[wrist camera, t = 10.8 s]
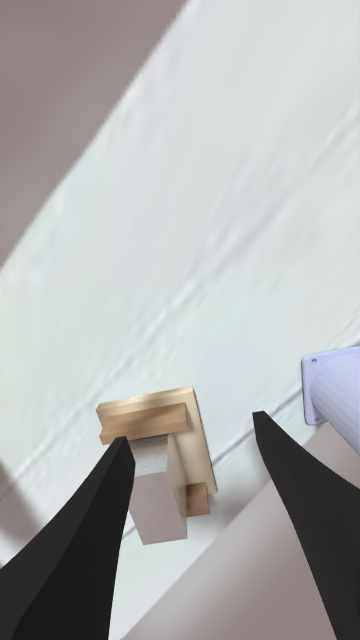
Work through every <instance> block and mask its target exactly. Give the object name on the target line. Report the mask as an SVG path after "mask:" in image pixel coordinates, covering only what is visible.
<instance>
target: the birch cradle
mask: <svg viewBox="0 0 360 640" xmlns="http://www.w3.org/2000/svg"><path fill="white" fill-rule="evenodd" d="M96 412H97V415H98V417H99V420H100V422H101V425H102V427H103V429H102V432H101V434H100V436H99V437H100V439H101V442H102V444H103V445H106V444H109V445H111V443H112V442H113V441H114V439H115V438H116V437H122V436H126V437H127V440H134V439H139V438H145V437H150V436H156V435H162V434H167V433H174V437H175V440H176V444H177V447H178V451H179V454H180V458H181V461H182V465H183V468H184V472H185V476H186V506H187V517H191V516H197V515H203V514H210V511H209V503H208V494H214V493H217V491H216V485H215V481H214V476H213V472H212V468H211V463H210V459H209V455H208V451H207V446H206V442H205V438H204V433H203V429H202V425H201V421H200V416H199V412H198V408H197V403H196V399H195V395H194V391H193V386H189V387H184V388H178V389H173V390H168V391H163V392H158V393H152V394H147V395H142V396H137V397H132V398H126V399H121V400H116V401H111V402H106V403H100V404H99V405H98V407H97V409H96Z"/></svg>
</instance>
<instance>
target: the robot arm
mask: <svg viewBox="0 0 360 640" xmlns="http://www.w3.org/2000/svg"><path fill="white" fill-rule="evenodd" d="M313 359H314V361H313V362H312V360H313ZM302 374H303V390H304V406H305V420H306V422H307V423H308V424H318V423H323V422H329V423H330V424H331V425H332V426H333V427H334V428H335V429H336V430H337V432H338V433H339V434H340V435H341V436H342V437H343V438H344V439H345V440H346V441H347V443H348V444H349V445H350V446H351V447H352V448H353V449H354V450H355V451H356V452H357V453H358V455H359V456H360V346H356V347H351V348H346V349H341V350H336V351H331V352H326V353H320V354H315V355H310V356H306V357H304V358H303V359H302ZM252 414H253V421H254V428H255V435H256V441H257V444H258V447H259V450H260V453H261V456H262V458H263V461H264V463H265V465H266V468H267V470H268V472H269V474H270V476H271V478H272V480H273V482H274V484H275V486H276V489H277V490H278V493H279V495H280V497H281V499H282V501H283V503H284V505H285V507H286V509H287V511H288V514H289V516H290V518H291V521H292V523H293V525H294V528H295V530H296V533H297V535H298V538H299V540H300V543H301V546H302V548H303V551H304V553H305V556H306V559H307V561H308V564H309V566H310V569H311V572H312V574H313V577H314V579H315V582H316V585H317V587H318V590H319V593H320V595H321V598H322V601H323V603H324V606H325V609H326V611H327V614H328V617H329V619H330V622H331V625H332V627H333V630H334V633H335V636H336V639H337V640H360V489H359V488H357V487H355V486H354V485H353V484H351V483H349V482H348V481H347V480H345V479H344V478H342V477H340V476H339V475H338V474H336V473H335V472H333V471H332V470H331V469H329V468H328V467H327V466H325V465H324V464H323V463H321V462H320V461H319V460H317V459H316V458H315V457H314V456H312V455H311V454H310V453H309V452H307V451H306V450H305V449H304V448H303V447H302V446H300V445H299V444H298V443H297V442H296V441H295V440H294V439H292V438H291V437H290V436H289V435H288V434H287V433H286V432H285V431H284V430H283V429H282V428H281V427H280V426H279V425H277V424H276V423H275V422H274V421H273V419H272V418H271V417H270V416H269V415H268V414H267V413H266V412H265V411H259V412H254V413H252ZM135 466H136V462H135V459H134V456H133V454H132V451H131V448H130V445H129V443H128V440H127V437H126V436H122V437H116V438H115V439H114V441H113V442H112V443H111V445H110V446H109V448H108V449H107V450H106V452H105V453H104V455H103V456H102V458H101V459H100V460H99V462H98V463H97V464H96V466H95V467H94V469H93V470H92V471H91V473H90V474H89V475H88V477H87V478H86V479H85V480H84V482H83V483H82V484H81V486H80V487H79V488H78V489H77V491H76V492H75V493H74V494H73V496H72V497H71V498H70V499H69V500H68V502H67V503H66V504H65V505H64V506H63V507H62V509H61V510H60V511H59V512H58V513H57V514H56V515H55V516H54V517H53V519H52V520H51V521H50V522H49V523H48V524H47V525H46V526H45V527H44V528H43V529H42V530H41V531H40V532H39V533H38V534H37V535H36V536H35V537H34V538H33V539H32V540H31V541H30V542H29V543H28V544H27V545H26V546H25V547H24V548H23V549H22V550H21V551H20V552H19V553H18V554H17V555H16V556H14V557H13V558H12V559H11V560H10V561H9V562H8V563H7V564H6V565H5V566H4V567H2V568H1V569H0V640H108V636H109V627H110V618H111V609H112V601H113V593H114V586H115V578H116V571H117V564H118V557H119V550H120V545H121V539H122V534H123V530H124V525H125V521H126V516H127V512H128V507H129V503H130V498H131V494H132V489H133V484H134V476H135Z"/></svg>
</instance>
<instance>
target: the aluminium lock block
mask: <svg viewBox="0 0 360 640" xmlns="http://www.w3.org/2000/svg"><path fill="white" fill-rule="evenodd" d="M128 443H129V445H130V448H131V451H132V454H133V456H134V459H135V462H136V466H135V476H134V484H133V489H132V494H131V498H130V503H129V507H128V509H129V511H130V514H131V516H132V519H133V521H134V523H135V526H136V528H137V531H138V533H139V536H140V538H141V541H142V543H143V545H147V544H154V543H161V542H167V541H174V540H181V539H187V506H186V476H185V472H184V468H183V465H182V461H181V458H180V454H179V451H178V447H177V444H176V440H175V437H174V433H167V434H162V435H156V436H150V437H145V438H139V439H134V440H128Z"/></svg>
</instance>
